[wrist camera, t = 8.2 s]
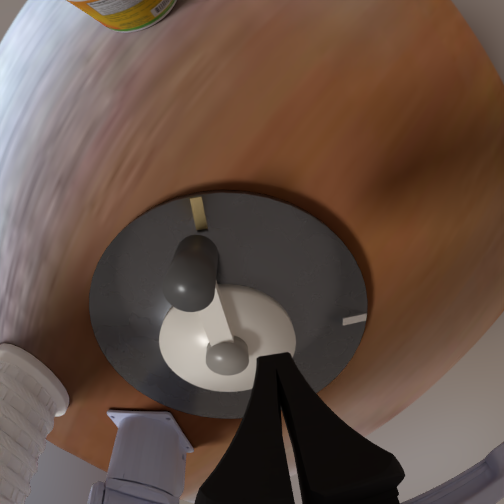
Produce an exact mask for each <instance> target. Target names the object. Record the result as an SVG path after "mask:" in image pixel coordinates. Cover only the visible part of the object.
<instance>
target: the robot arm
mask: <svg viewBox="0 0 504 504" xmlns="http://www.w3.org/2000/svg"><path fill="white" fill-rule="evenodd" d="M280 405H281V407H280ZM281 409H282V412H283V416H284V419H285V423H286V426H287V430H288V433H289V437H290V440H291V444H292V447H293V452H294V457H295V462H296V468H297V474H298V479H299V485H300V490H301V497H302V503H303V504H496V503H497V502H498V501H500V500H501V499H502V498H503V497H504V442H503V443H501V444H500V445H499V446H497V447H496V448H495V449H494V450H492V451H491V452H490V453H489V454H488V455H487V456H486V457H485V459H483V460H482V461H480V462H479V463H477V464H475V465H474V466H472V467H471V468H469V469H467V470H466V471H464V472H462V473H461V474H459V475H457V476H456V477H454V478H452V479H450V480H448V481H447V482H445V483H443V484H441V485H439V486H437V487H435V488H433V489H431V490H429V491H427V492H425V493H423V494H421V495H419V496H416V497H414V498H412V499H410V500H407V501H405V502H403V503H399V500H398V497H397V496H398V495H399V492H398V490H397V486H398V485H399V484H400V483H401V481H402V480H403V479H404V477H405V474H404V470H403V468H402V467H401V465H400V463H399V462H398V460H397V459H396V457H395V456H394V455H393V454H392V453H390V452H388V451H386V450H384V449H382V448H380V447H379V446H377V445H375V444H373V443H372V442H371V441H369V440H368V439H366V438H364V437H363V436H362V435H360V434H359V433H358V432H356V431H355V430H354V429H352V428H351V427H350V426H348V425H347V424H346V423H345V422H344V421H343V420H341V419H340V418H339V417H338V416H337V415H336V414H335V413H334V412H333V411H332V410H331V409H330V408H329V407H328V406H327V405H326V404H325V403H324V402H323V401H322V400H321V398H320V397H319V396H318V395H317V394H316V393H315V391H314V390H313V389H312V388H311V386H310V385H309V384H308V382H307V381H306V380H305V378H304V377H303V375H302V374H301V372H300V371H299V369H298V367H297V366H296V364H295V362H294V360H293V358H292V356H291V354H290V353H289V352H284V353H278V354H272V355H265V356H259V357H258V358H257V359H256V373H255V379H254V384H253V388H252V392H251V396H250V399H249V402H248V405H247V408H246V411H245V414H244V416H243V419H242V421H241V424H240V426H239V428H238V430H237V432H236V434H235V436H234V438H233V440H232V442H231V444H230V446H229V448H228V449H227V451H226V453H225V454H224V456H223V457H222V459H221V460H220V462H219V463H218V465H217V466H216V468H215V469H214V471H213V472H212V473H211V474H210V476H209V477H208V478H207V479H206V481H205V482H204V483H203V484H202V486H201V487H200V488H199V491H198V493H197V496H196V500H195V504H295V502H294V497H293V492H292V486H291V481H290V475H289V470H288V464H287V459H286V453H285V448H284V442H283V437H282V423H281ZM107 414H108V416H109V417H110V418H111V419H112V421H113V422H114V423H115V424H116V426H117V427H118V432H117V436H116V440H115V443H114V447H113V452H112V456H111V460H110V464H109V469H108V473H107V478H106V481H105V482H104V483H103V482H101V481H98V482H96V483H93V484H92V487H91V490H90V494H89V498H88V503H87V504H179V499H180V498H179V497H180V496H181V494H182V493H183V490H184V480H185V465H186V452H194V449H193V447H192V446H191V444H190V443H189V441H188V440H187V438H186V436H185V435H184V433H183V432H182V430H181V429H180V427H179V425H178V424H177V422H176V421H175V419H174V417H173V416H172V414H171V413H170V412H151V411H120V410H108V411H107Z"/></svg>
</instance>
